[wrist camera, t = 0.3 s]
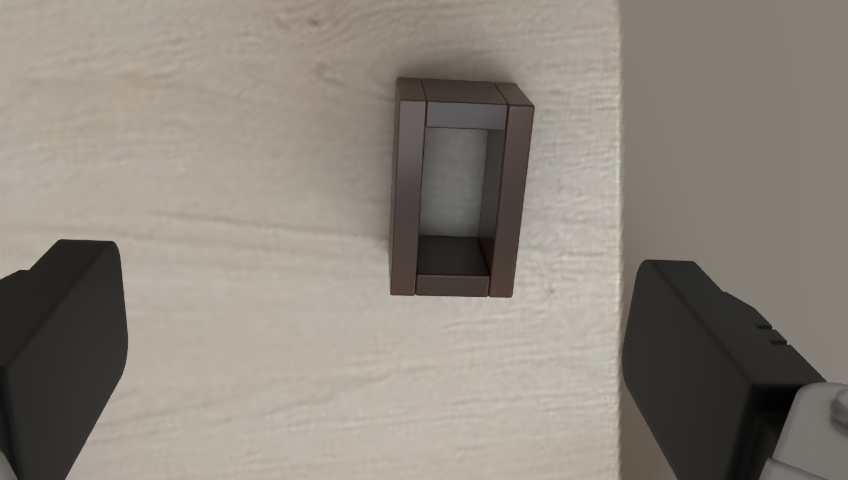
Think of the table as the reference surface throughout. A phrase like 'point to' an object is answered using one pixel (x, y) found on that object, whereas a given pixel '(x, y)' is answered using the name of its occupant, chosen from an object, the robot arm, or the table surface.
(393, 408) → the table surface
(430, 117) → the frame
